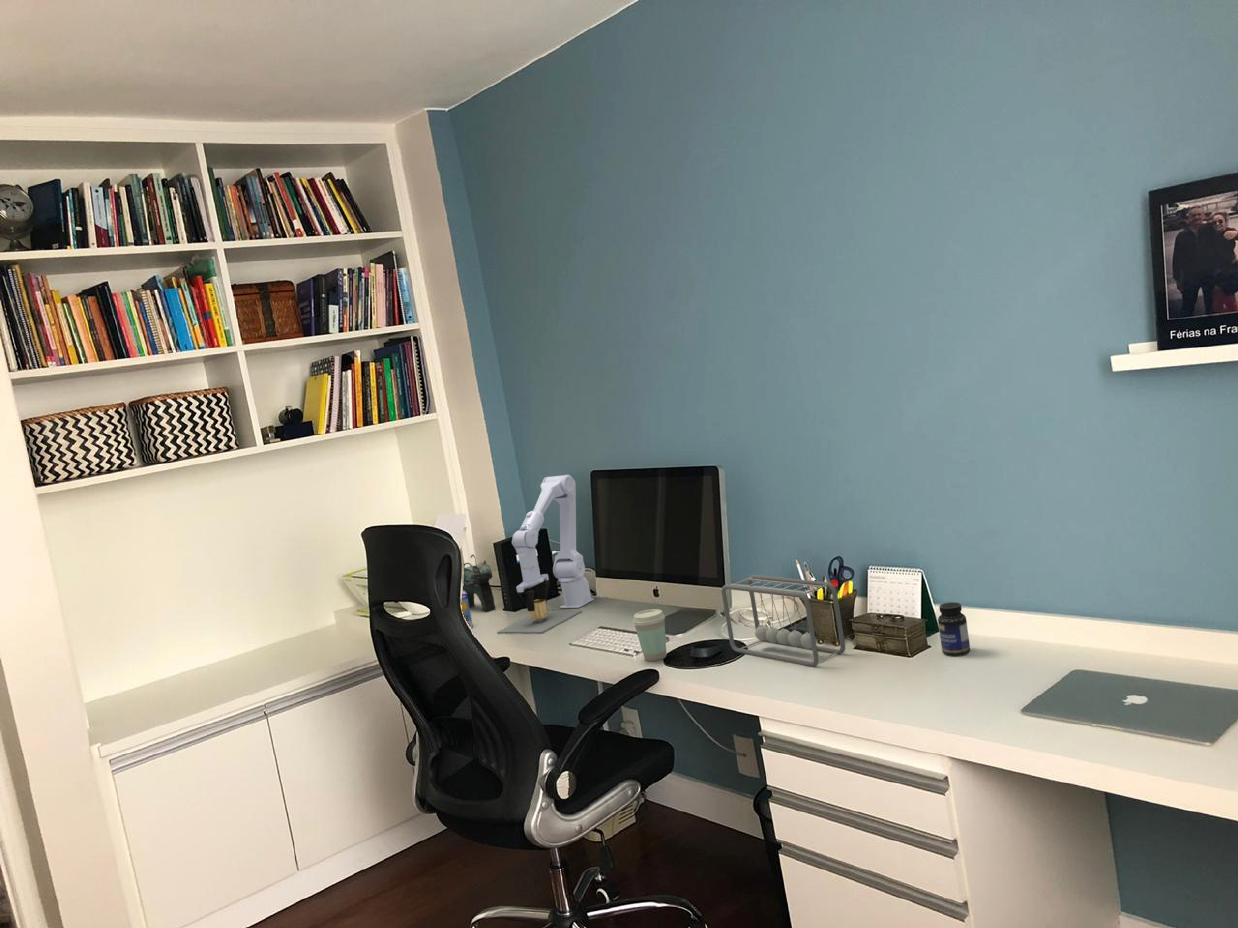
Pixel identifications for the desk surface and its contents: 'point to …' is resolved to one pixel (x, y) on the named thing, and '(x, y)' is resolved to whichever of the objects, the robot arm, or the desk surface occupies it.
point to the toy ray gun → (479, 585)
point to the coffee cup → (651, 633)
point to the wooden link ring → (539, 609)
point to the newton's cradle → (783, 635)
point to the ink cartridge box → (466, 609)
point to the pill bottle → (953, 630)
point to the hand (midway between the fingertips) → (537, 607)
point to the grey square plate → (539, 623)
